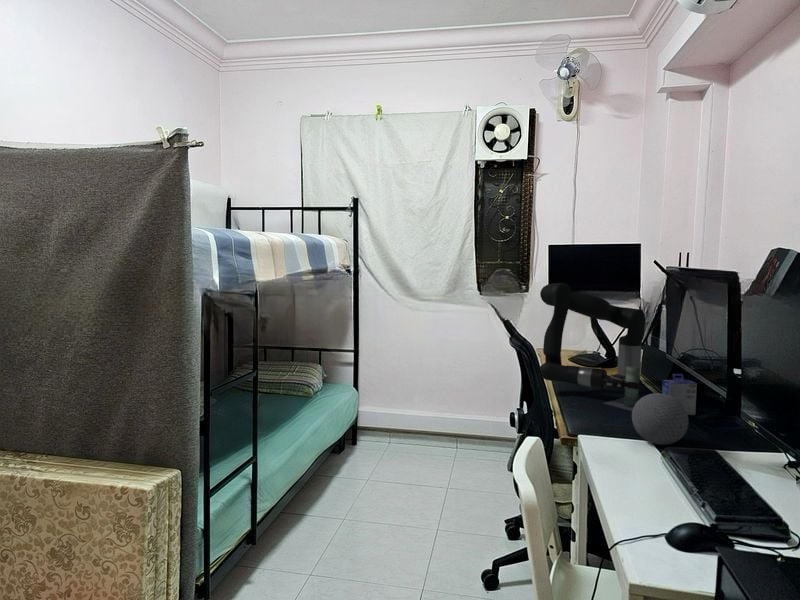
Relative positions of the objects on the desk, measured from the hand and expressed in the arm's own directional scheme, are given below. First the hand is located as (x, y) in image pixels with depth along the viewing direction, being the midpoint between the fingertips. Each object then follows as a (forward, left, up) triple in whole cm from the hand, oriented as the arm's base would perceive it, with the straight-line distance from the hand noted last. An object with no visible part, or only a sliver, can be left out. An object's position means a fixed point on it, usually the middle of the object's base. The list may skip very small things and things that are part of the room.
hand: (639, 384), depth 183 cm
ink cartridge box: (-5, +11, -9) cm, 16 cm away
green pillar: (+1, -3, -8) cm, 8 cm away
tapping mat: (+1, -3, -9) cm, 9 cm away
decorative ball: (+28, +22, -9) cm, 37 cm away
